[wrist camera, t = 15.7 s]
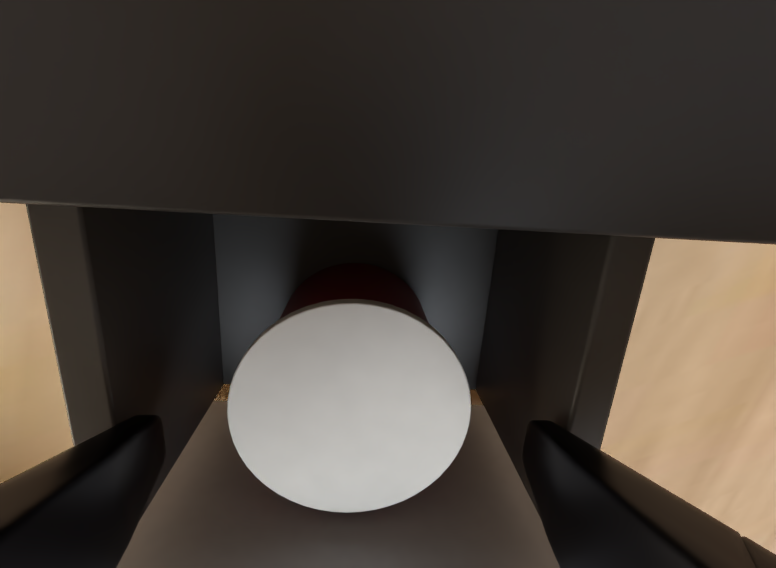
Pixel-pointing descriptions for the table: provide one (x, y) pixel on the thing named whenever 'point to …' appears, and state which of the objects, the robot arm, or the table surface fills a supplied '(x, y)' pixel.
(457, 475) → the pod drawer
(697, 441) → the table surface
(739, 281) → the table surface
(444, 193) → the dark brown storage box
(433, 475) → the coffee pod
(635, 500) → the robot arm
